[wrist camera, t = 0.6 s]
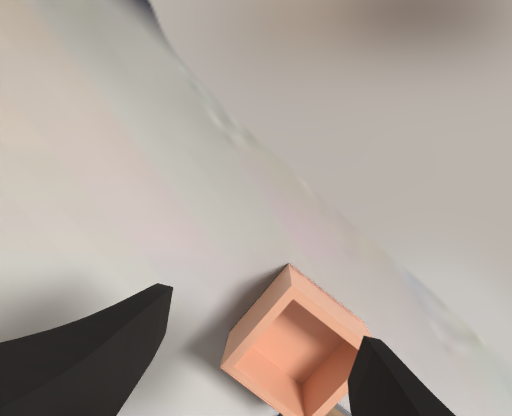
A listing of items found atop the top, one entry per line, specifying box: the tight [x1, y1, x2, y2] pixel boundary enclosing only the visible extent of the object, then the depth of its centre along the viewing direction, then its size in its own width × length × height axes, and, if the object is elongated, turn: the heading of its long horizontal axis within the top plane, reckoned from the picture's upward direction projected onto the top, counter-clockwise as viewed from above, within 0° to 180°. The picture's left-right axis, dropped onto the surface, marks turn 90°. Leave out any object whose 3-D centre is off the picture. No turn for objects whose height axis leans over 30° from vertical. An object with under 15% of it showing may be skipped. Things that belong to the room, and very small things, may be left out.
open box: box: [220, 263, 372, 416], centre depth 21 cm, size 7×7×4 cm
